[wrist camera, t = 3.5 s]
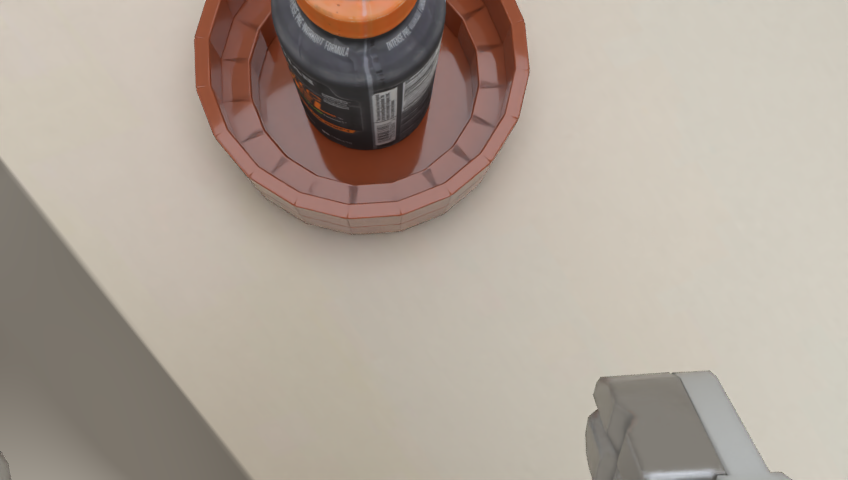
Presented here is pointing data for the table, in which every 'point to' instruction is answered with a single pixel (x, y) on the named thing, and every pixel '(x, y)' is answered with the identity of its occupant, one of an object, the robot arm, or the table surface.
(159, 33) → the table surface
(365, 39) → the pill bottle
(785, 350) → the table surface
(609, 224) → the table surface
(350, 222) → the bowl
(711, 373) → the robot arm
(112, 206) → the table surface
